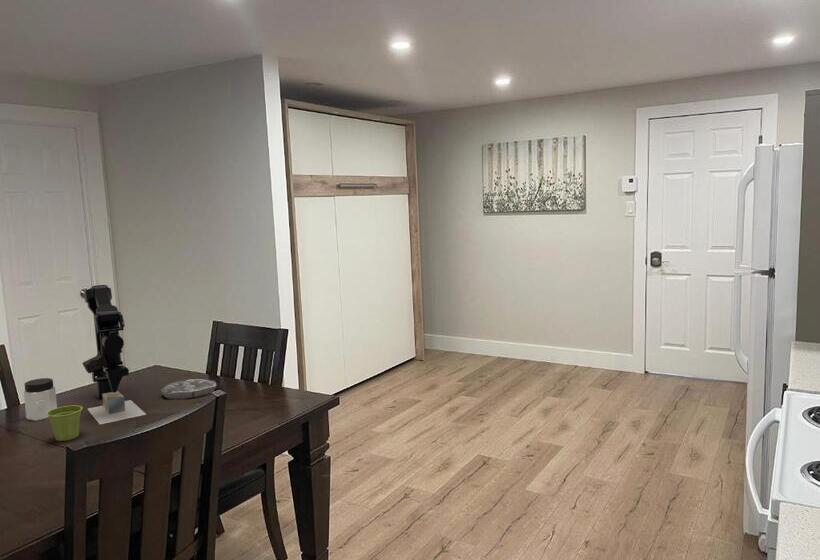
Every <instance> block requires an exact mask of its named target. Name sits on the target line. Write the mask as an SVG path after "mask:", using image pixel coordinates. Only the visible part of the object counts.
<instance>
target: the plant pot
mask: <svg viewBox="0 0 820 560" xmlns="http://www.w3.org/2000/svg"><path fill="white" fill-rule="evenodd" d="M82 410H83V407H82V406H81V405H65V406H59V407H57V408H55V409H52V410H50V411H48V412H47V413H46V414H47V416H48V417H49V418H48V419H49V421H50V424H51V426H52V431H53V435H54V438H55V440H56V441H59V442H62V441H70V440H73V439H76V438H78V437H79V436H80V421H81V415H82Z"/></svg>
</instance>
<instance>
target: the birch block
mask: <svg viewBox="0 0 820 560" xmlns="http://www.w3.org/2000/svg"><path fill="white" fill-rule="evenodd" d="M102 397H103V398H102V406H103V408H104V409H105V410H106V411H107V412H108V414H113V413H118V412H123V411H125V402H124V401H125V396H124V395H123V393H121V392H120V391H118V390H117V392H114V393H113V392H110V393H104V394H102Z"/></svg>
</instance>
